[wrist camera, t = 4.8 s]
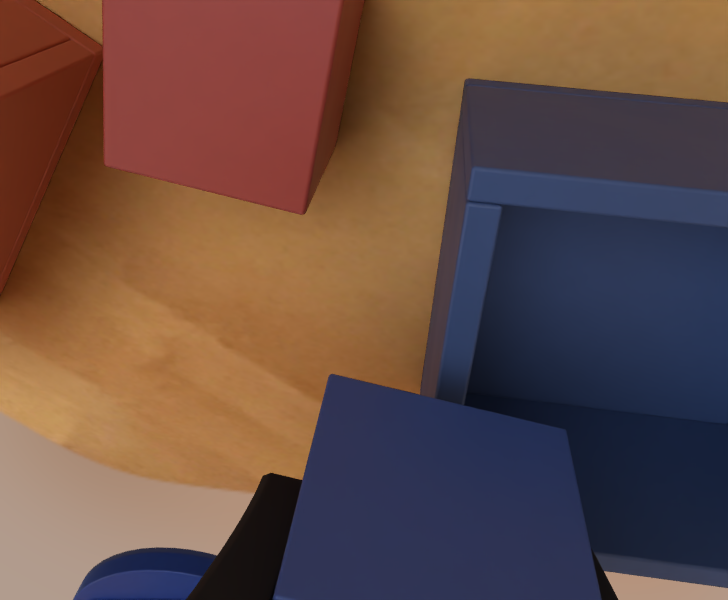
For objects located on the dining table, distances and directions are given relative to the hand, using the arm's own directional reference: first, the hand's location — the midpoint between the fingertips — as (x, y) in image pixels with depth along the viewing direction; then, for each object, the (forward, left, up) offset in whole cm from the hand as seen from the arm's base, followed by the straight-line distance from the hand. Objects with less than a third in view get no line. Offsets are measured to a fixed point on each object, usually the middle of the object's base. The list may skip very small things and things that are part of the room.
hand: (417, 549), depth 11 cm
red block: (+7, +3, -8) cm, 11 cm away
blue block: (0, 0, -1) cm, 1 cm away
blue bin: (0, -5, -8) cm, 10 cm away
